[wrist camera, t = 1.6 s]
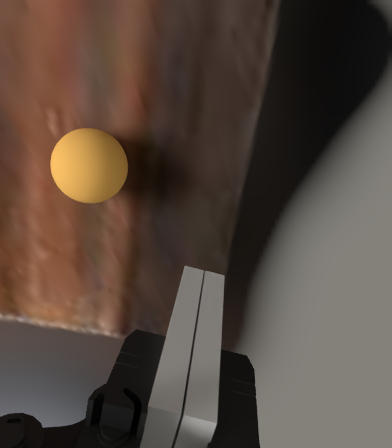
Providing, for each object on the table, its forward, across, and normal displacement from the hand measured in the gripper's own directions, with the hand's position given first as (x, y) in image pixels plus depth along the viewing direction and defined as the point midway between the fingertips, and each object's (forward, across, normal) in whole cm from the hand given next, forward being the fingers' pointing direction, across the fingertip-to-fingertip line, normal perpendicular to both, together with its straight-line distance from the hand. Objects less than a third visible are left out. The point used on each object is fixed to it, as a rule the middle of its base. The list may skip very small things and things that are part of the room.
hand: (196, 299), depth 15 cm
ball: (+14, -10, 0) cm, 17 cm away
